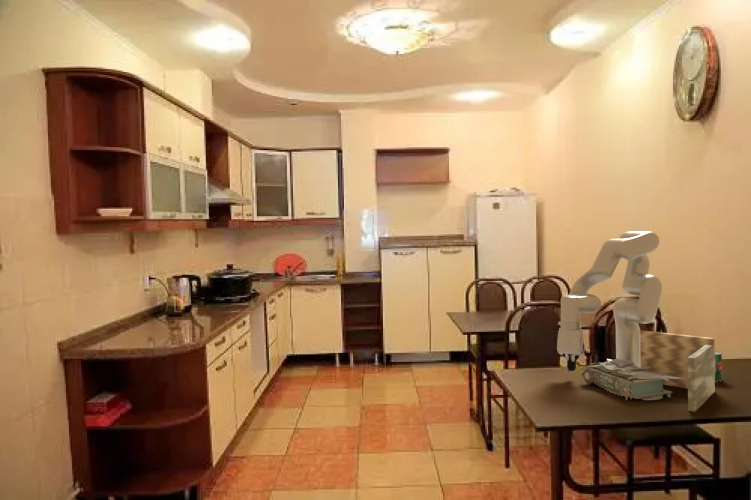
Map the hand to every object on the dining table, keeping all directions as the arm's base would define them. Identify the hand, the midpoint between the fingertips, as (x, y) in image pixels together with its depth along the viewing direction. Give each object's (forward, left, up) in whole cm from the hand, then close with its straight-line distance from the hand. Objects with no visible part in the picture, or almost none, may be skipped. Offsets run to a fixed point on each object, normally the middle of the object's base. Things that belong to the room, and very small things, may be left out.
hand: (571, 370), depth 212 cm
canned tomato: (+41, +35, -4) cm, 54 cm away
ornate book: (+22, +1, -5) cm, 22 cm away
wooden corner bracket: (+34, +4, -4) cm, 34 cm away
